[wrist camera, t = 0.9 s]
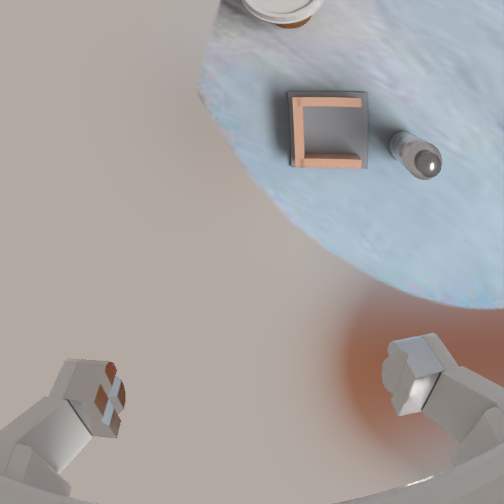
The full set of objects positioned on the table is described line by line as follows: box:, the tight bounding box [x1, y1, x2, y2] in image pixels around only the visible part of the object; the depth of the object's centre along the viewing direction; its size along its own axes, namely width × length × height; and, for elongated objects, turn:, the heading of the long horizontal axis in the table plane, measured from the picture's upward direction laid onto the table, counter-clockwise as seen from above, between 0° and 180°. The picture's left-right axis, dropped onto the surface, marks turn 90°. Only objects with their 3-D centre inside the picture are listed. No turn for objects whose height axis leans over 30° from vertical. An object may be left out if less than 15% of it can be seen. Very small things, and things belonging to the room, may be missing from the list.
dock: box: [288, 91, 368, 169], centre depth 41 cm, size 11×11×4 cm
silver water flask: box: [389, 131, 442, 180], centre depth 36 cm, size 4×4×12 cm
